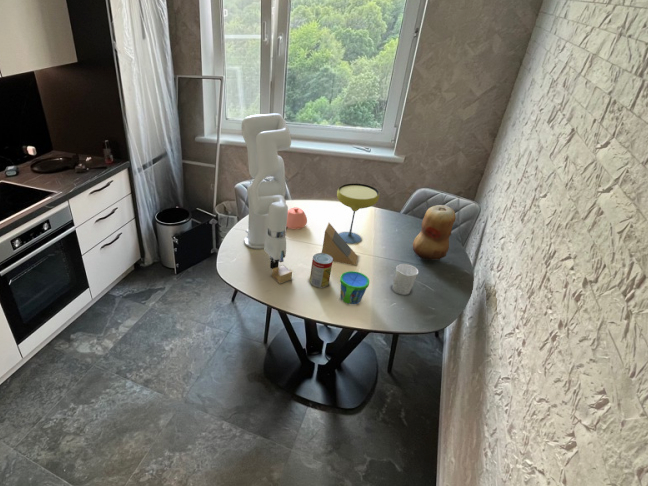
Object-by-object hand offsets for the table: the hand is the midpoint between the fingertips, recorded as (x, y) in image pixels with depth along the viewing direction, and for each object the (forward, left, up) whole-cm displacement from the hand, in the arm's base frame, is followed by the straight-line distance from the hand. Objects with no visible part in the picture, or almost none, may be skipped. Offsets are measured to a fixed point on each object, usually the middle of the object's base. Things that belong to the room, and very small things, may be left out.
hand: (274, 268), depth 175 cm
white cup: (+36, +37, -2) cm, 51 cm away
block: (+6, 0, -2) cm, 6 cm away
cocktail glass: (-5, +48, -2) cm, 48 cm away
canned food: (+16, +12, -2) cm, 20 cm away
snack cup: (+31, +15, -2) cm, 34 cm away
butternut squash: (+25, +65, -2) cm, 70 cm away
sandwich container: (+6, +32, -2) cm, 33 cm away
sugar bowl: (-29, +32, -2) cm, 44 cm away
